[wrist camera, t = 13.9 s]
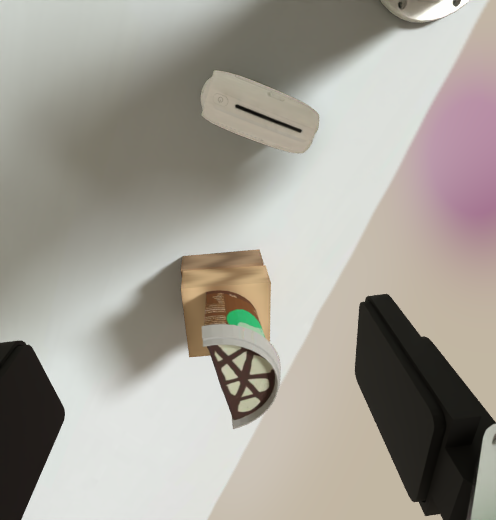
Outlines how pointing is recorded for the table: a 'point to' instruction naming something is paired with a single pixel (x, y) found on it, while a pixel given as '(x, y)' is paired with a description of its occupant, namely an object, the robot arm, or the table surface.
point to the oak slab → (226, 279)
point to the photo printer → (258, 112)
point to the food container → (240, 355)
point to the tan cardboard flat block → (222, 260)
